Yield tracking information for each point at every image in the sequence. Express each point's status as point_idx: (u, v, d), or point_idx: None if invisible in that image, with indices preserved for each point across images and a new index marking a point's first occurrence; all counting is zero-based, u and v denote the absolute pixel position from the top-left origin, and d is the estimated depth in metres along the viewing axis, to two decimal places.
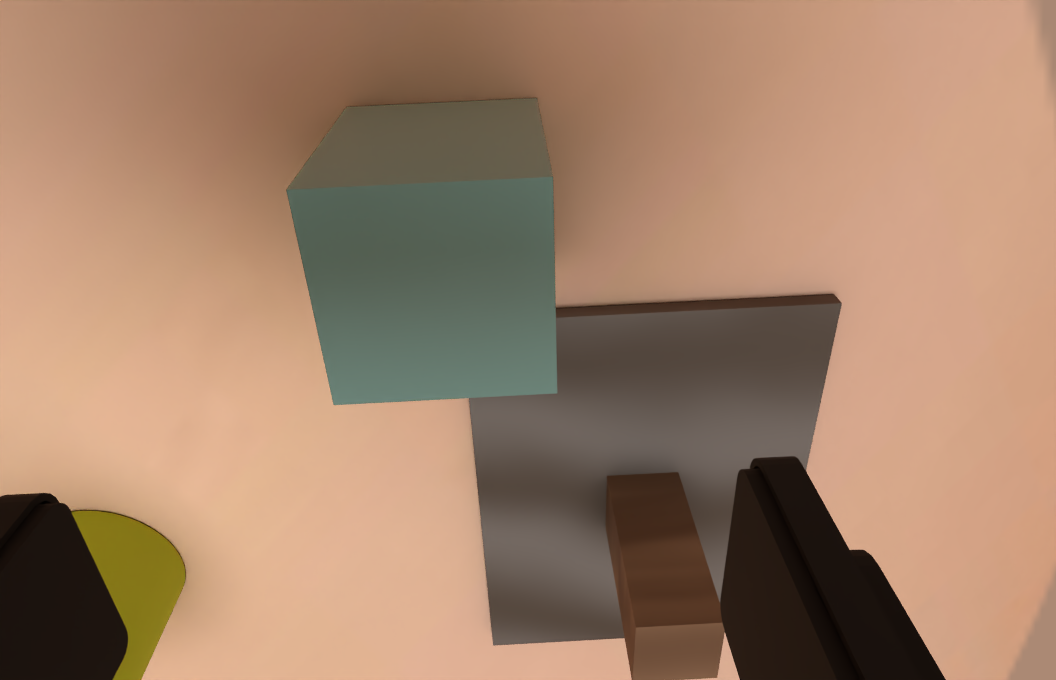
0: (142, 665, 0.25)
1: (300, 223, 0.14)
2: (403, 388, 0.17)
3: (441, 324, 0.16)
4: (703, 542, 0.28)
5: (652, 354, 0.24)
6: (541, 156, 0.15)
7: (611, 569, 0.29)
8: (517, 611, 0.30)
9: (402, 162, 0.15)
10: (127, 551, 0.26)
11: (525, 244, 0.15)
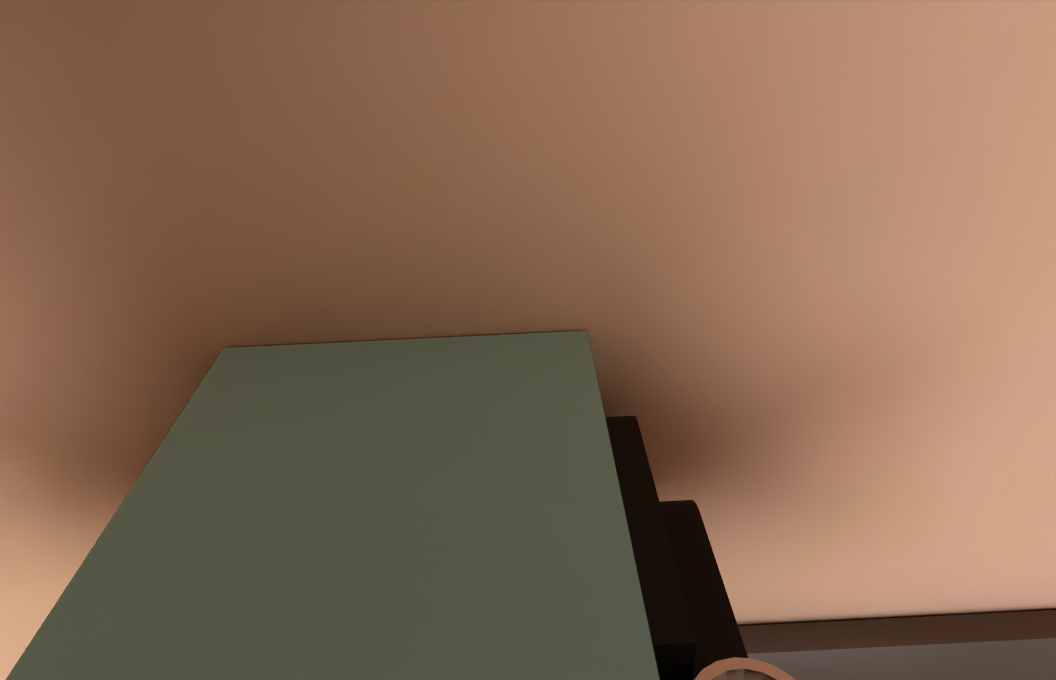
0: None
1: None
2: None
3: None
4: None
5: None
6: (633, 647, 0.06)
7: None
8: None
9: (269, 663, 0.06)
10: None
11: None
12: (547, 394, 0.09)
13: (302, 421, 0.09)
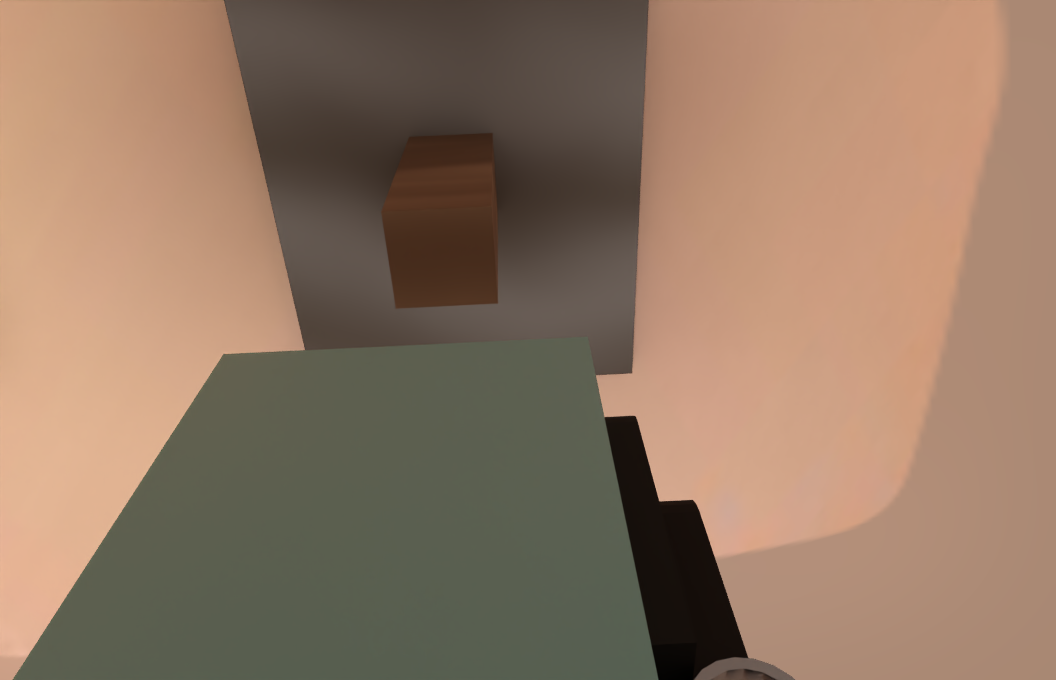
0: None
1: None
2: None
3: None
4: (536, 241, 0.24)
5: None
6: (634, 660, 0.06)
7: None
8: (334, 339, 0.26)
9: (269, 676, 0.06)
10: None
11: None
12: (547, 401, 0.09)
13: (302, 429, 0.09)
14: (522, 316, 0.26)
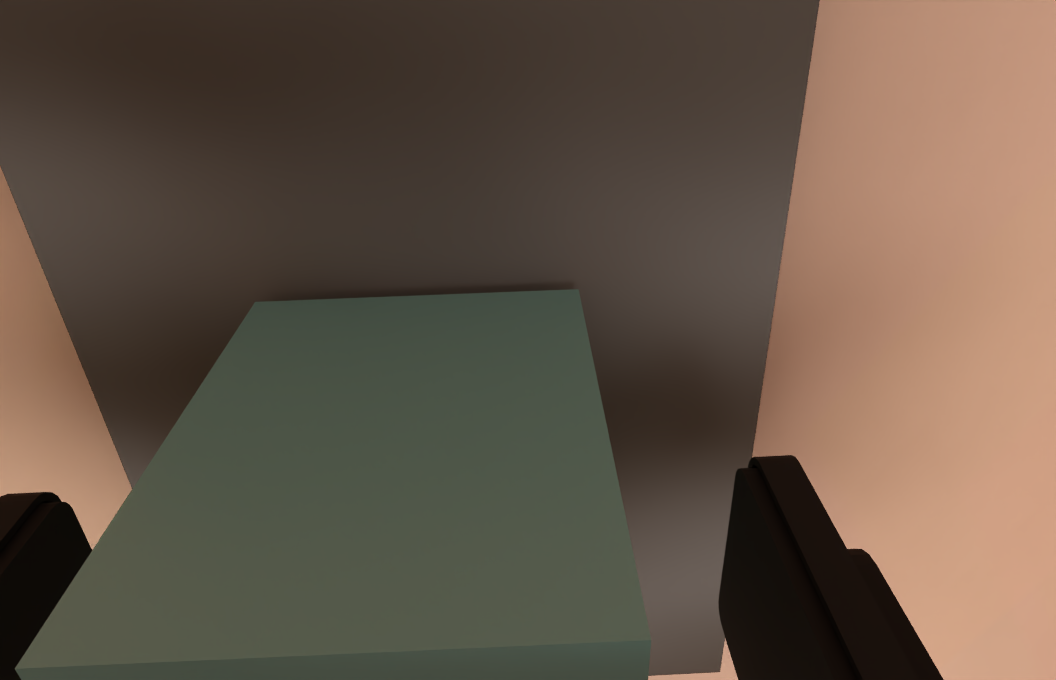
0: None
1: None
2: None
3: None
4: None
5: (394, 33, 0.10)
6: (611, 522, 0.07)
7: None
8: None
9: (312, 533, 0.07)
10: None
11: None
12: (542, 339, 0.10)
13: (329, 359, 0.10)
14: None
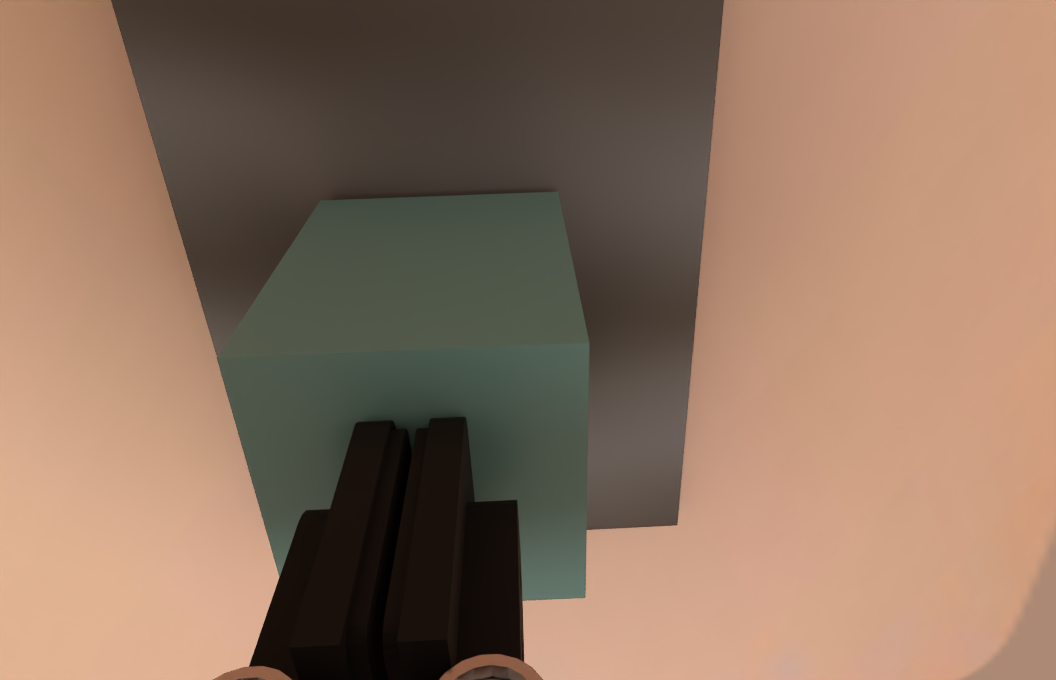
0: None
1: (237, 399, 0.10)
2: None
3: None
4: None
5: None
6: (570, 299, 0.11)
7: None
8: None
9: (382, 306, 0.11)
10: None
11: (548, 424, 0.11)
12: (530, 218, 0.14)
13: (379, 229, 0.14)
14: None
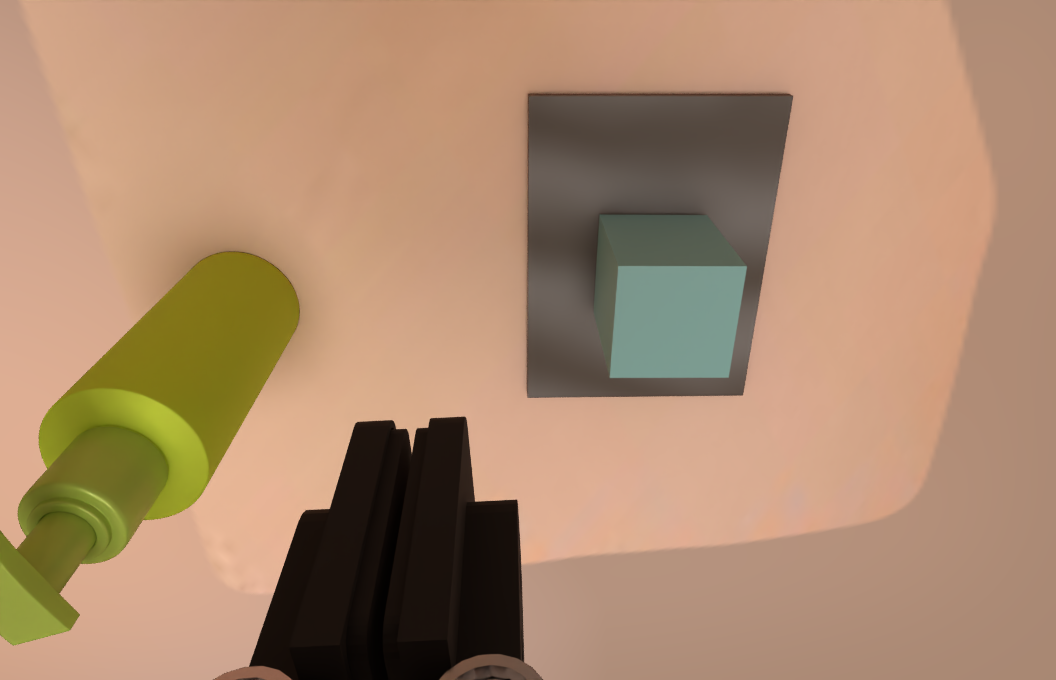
0: (277, 353, 0.34)
1: (620, 282, 0.29)
2: (648, 370, 0.31)
3: (676, 336, 0.30)
4: None
5: (660, 131, 0.33)
6: (733, 254, 0.30)
7: None
8: (548, 363, 0.39)
9: (663, 253, 0.30)
10: (267, 277, 0.35)
11: (727, 297, 0.30)
12: (701, 225, 0.34)
13: (638, 227, 0.33)
14: None
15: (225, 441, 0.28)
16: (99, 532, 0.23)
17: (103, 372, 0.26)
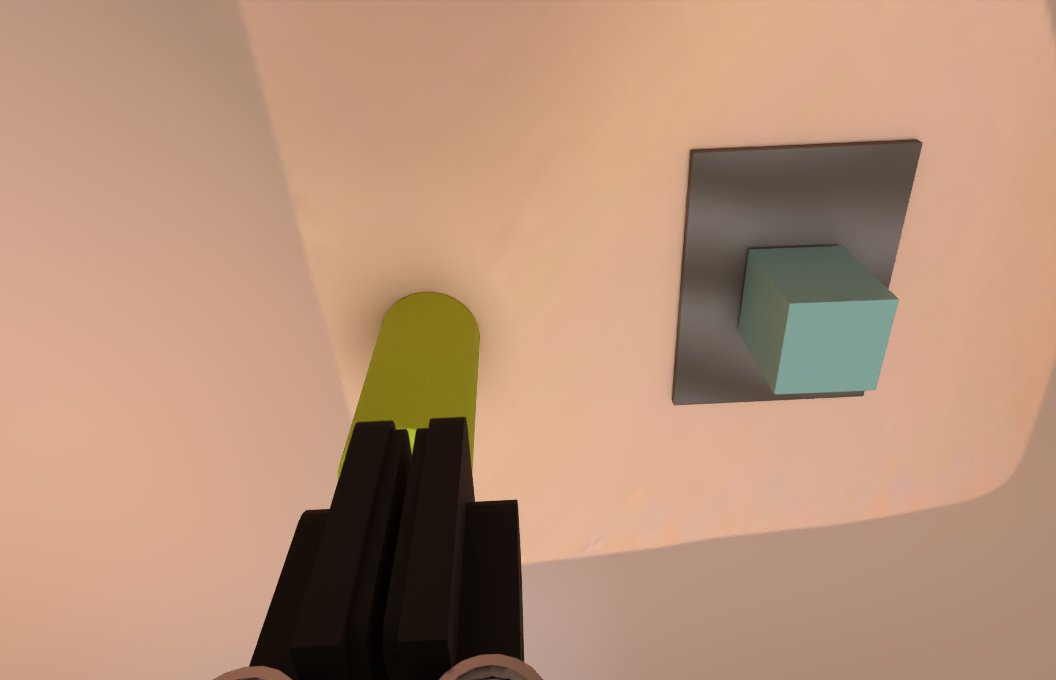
0: None
1: (790, 316, 0.35)
2: (807, 387, 0.37)
3: (834, 358, 0.36)
4: None
5: (805, 177, 0.38)
6: (882, 286, 0.36)
7: None
8: (694, 375, 0.45)
9: (822, 289, 0.36)
10: (460, 314, 0.41)
11: (880, 325, 0.35)
12: (842, 257, 0.39)
13: (788, 262, 0.38)
14: None
15: None
16: None
17: (387, 413, 0.32)
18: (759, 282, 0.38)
